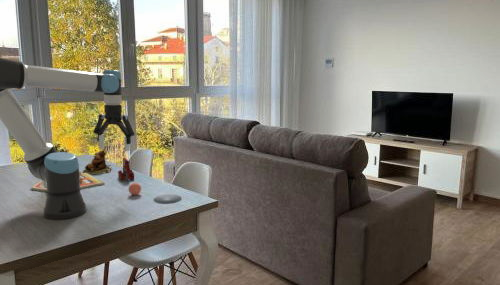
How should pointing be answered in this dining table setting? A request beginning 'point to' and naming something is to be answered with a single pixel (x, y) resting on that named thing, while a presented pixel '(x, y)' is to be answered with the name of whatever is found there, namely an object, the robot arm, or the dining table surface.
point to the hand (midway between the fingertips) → (114, 149)
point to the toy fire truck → (126, 171)
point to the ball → (134, 188)
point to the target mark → (167, 198)
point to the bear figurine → (97, 164)
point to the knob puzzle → (85, 182)
